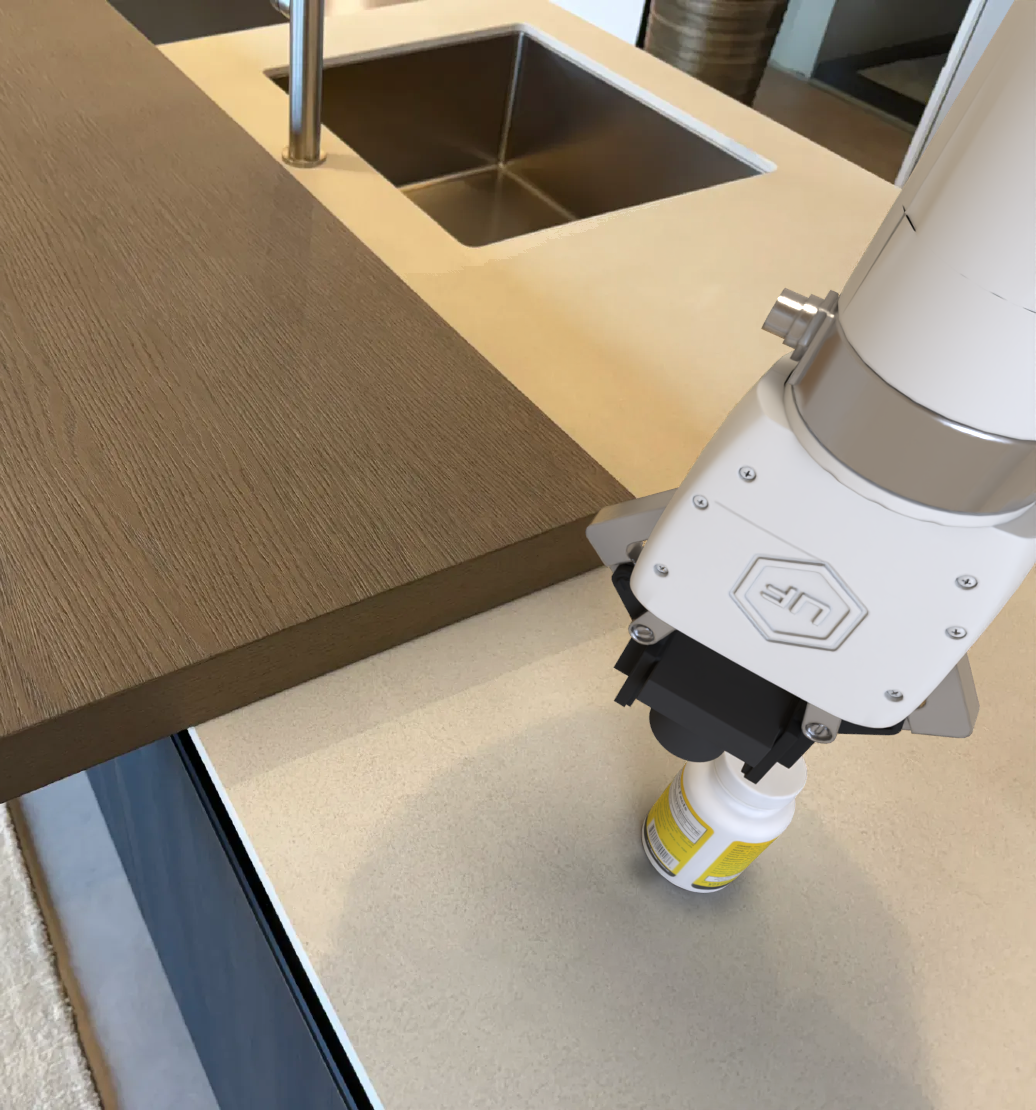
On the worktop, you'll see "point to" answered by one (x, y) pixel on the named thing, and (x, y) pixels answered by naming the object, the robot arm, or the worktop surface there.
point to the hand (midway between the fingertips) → (696, 715)
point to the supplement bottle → (718, 820)
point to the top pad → (711, 705)
